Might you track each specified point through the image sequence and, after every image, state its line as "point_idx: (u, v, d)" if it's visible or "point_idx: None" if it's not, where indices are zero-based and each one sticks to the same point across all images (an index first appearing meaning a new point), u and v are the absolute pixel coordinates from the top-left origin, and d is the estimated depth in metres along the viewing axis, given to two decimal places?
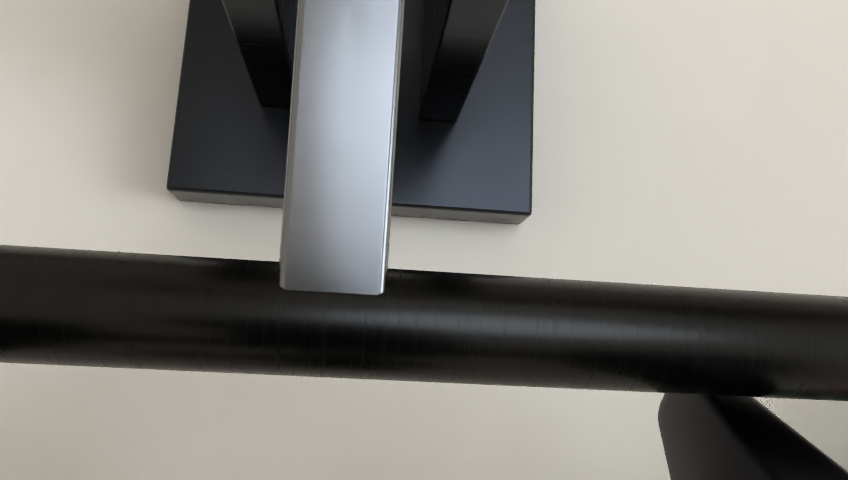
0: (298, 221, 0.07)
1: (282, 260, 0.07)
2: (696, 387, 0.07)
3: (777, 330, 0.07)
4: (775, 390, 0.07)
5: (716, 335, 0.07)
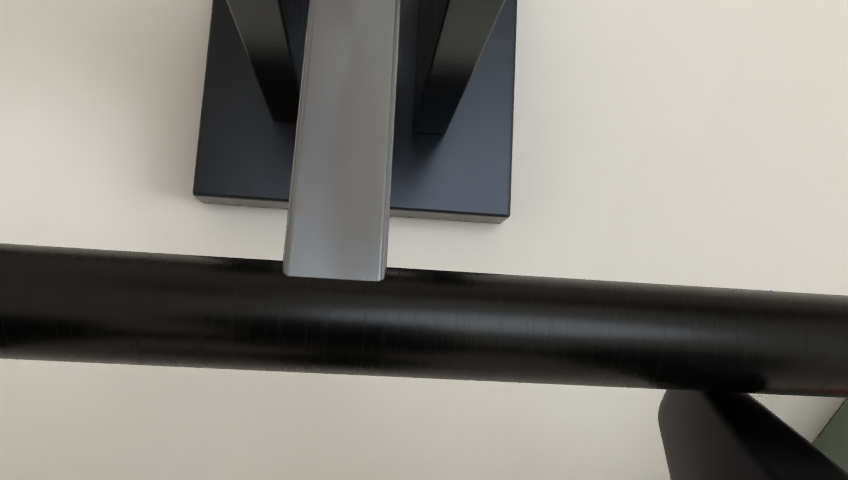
0: (303, 213, 0.07)
1: (287, 248, 0.07)
2: (695, 374, 0.07)
3: (765, 314, 0.07)
4: (773, 378, 0.07)
5: (707, 318, 0.07)
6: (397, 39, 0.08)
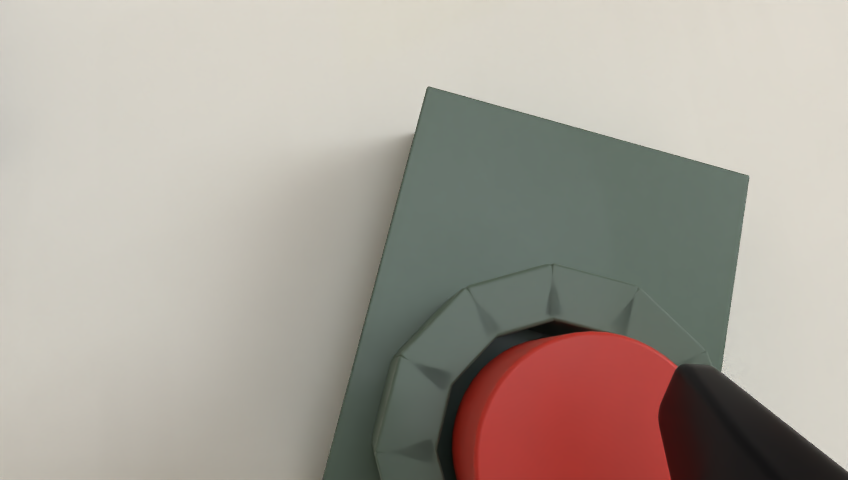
0: None
1: None
2: None
3: None
4: None
5: None
6: None
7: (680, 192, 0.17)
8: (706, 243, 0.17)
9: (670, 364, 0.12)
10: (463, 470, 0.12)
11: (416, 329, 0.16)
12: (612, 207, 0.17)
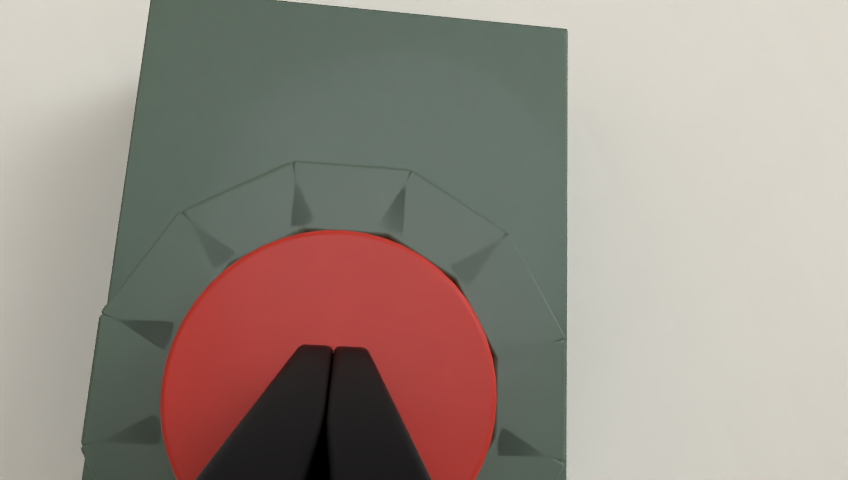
0: None
1: None
2: None
3: None
4: None
5: None
6: None
7: (486, 62, 0.14)
8: (526, 116, 0.14)
9: (409, 254, 0.09)
10: None
11: None
12: (405, 94, 0.14)
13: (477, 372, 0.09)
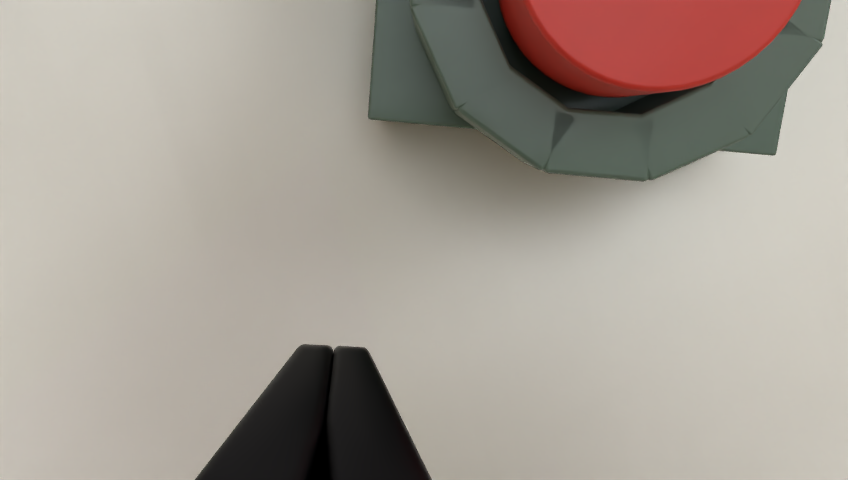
0: None
1: None
2: None
3: None
4: None
5: None
6: None
7: None
8: None
9: None
10: None
11: None
12: None
13: None
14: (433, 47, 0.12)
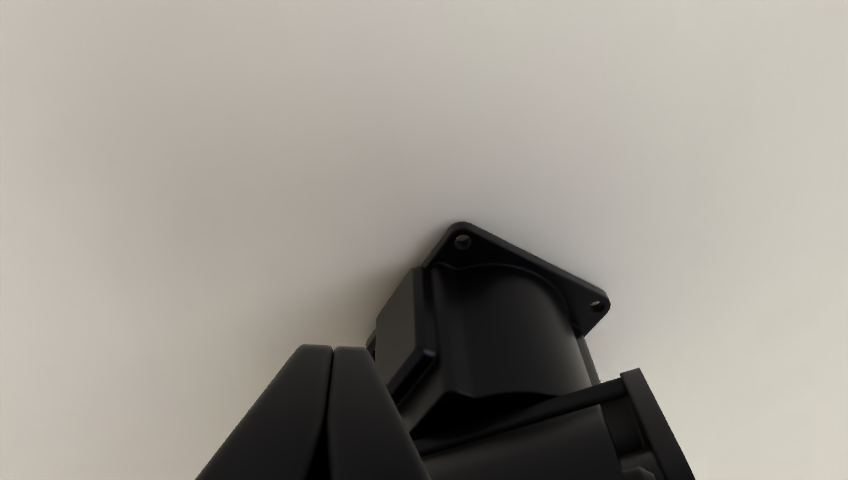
0: None
1: None
2: None
3: None
4: None
5: None
6: None
7: None
8: None
9: None
10: None
11: None
12: None
13: None
14: None
